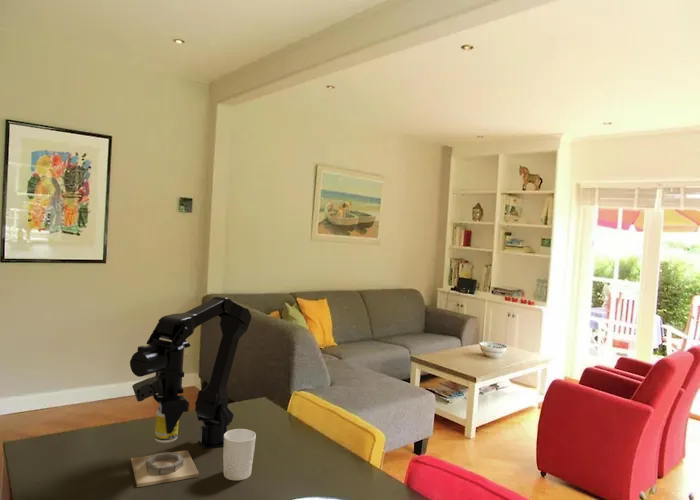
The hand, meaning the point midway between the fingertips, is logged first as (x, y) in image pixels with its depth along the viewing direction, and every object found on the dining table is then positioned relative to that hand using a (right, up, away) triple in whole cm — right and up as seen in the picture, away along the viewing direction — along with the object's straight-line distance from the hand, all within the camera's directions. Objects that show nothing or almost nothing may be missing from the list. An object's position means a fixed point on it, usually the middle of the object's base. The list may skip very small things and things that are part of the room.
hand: (167, 428), depth 124 cm
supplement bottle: (0, -3, 0) cm, 3 cm away
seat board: (-1, -10, 0) cm, 10 cm away
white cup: (+18, -12, 0) cm, 21 cm away
